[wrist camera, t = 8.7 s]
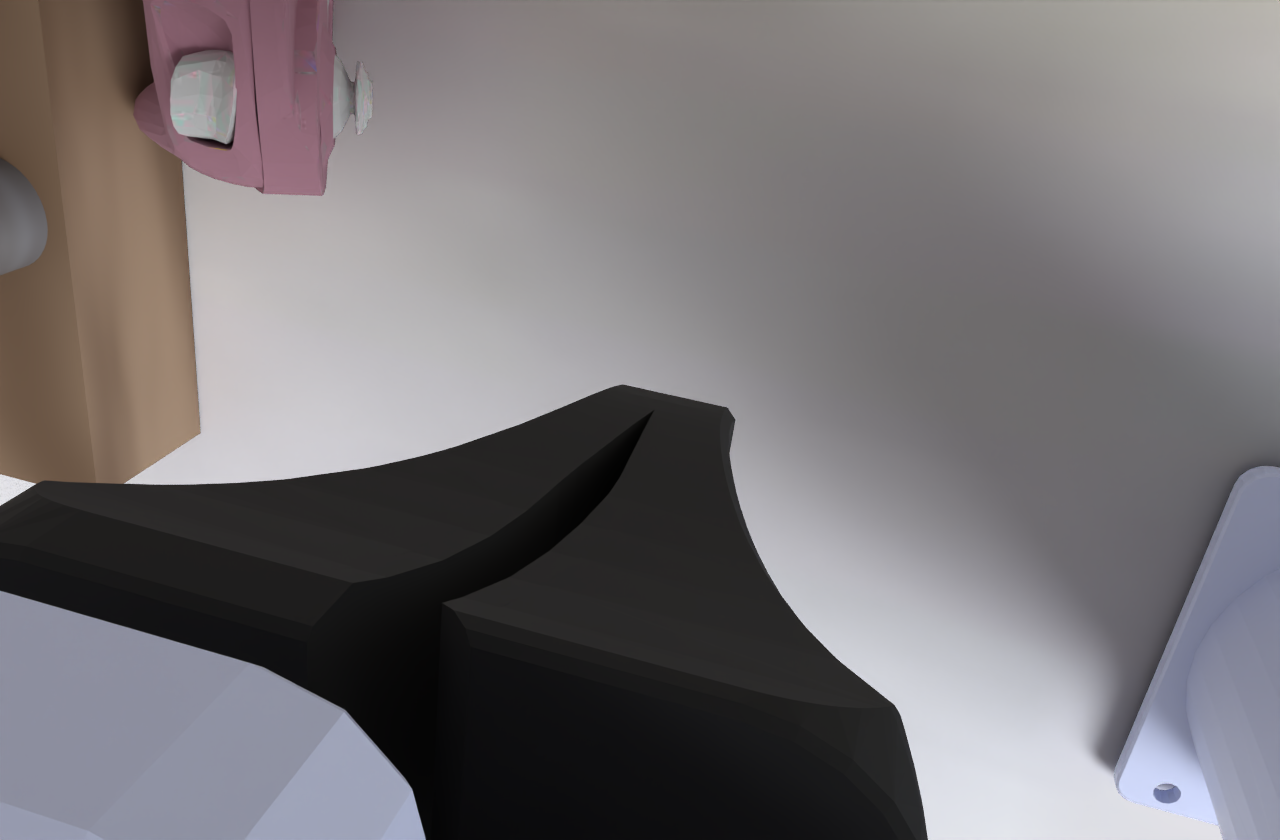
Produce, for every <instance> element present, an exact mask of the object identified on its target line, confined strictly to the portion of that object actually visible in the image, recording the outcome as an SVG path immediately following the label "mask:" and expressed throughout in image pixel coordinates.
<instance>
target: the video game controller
mask: <svg viewBox="0 0 1280 840" xmlns="http://www.w3.org/2000/svg"><path fill="white" fill-rule="evenodd" d="M143 5H144V13H145V22H146V30H147V38H148V46H149V55H150V63H151V69H152V74H153V78H154V82H153V83H152V84H150V85H149V86H147V87H146V88H145V89H144V90H143V91H142V92H141V93H140V94H139V95H138V97H137V98H136V99H135V105H134V112H133V116H134V118H135V120H136V122H137V124H138V126H139V129H140V130H141V131H142V132H143V133H145V134H146V135H147V136H148V137H149V138H150V139H152V140H153V141H154V142H156V143H157V144H158V145H160V146H161V147H162V148H164V149H165V150H167V151H169V152H170V153H172V154H174V155H175V156H177V157H178V158H180V159H181V160H182V161H183V162H184V163H186V164H187V165H188V166H189V167H191V168H193V169H195V170H196V171H198V172H200V173H202V174H205V175H207V176H209V177H212V178H214V179H218V180H221V181H225V182H228V183H232V184H236V185H241V186H246V187H255V188H256V189H257V190H258V191H260V192H261V193H263V194H289V195H317V196H322V195H323V194H324V192H325V188H326V179H327V164H328V158H329V156H330V154H331V152H332V149H333V147H334V145H335V137H336V136H337V135H338V134H339V133H340V132H341V131H342V130H343V128H344V126H345V124H346V122H347V120H348V118H349V116H350V114H353V113H354V115H355V124H356V134H357V135H361V134H362V133H363V131H364V128H366V127H367V123H368V120H369V119H370V118H372V104H373V84H372V81H371V80H369V78H368V72H367V71H366V70H365V68H364V65H363V63H362V62H359V61H357V67H356V78H355V82H351V81H350V79H349V77H348V75H347V73H346V71H345V68H344V66H343V64H342V62H341V61H340V59H339V58H338V57H337V56H336V48H335V47H334V45H333V42H332V36H333V0H143Z"/></svg>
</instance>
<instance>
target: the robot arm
mask: <svg viewBox="0 0 1280 840" xmlns="http://www.w3.org/2000/svg"><path fill="white" fill-rule="evenodd" d="M734 424H735V419H734V417H733V415H732V414H731V412H730V411H729V409H728V408H726V407H722V406H717V405H713V404H708V403H704V402H699V401H695V400H690V399H686V398H681V397H677V396H672V395H668V394H663V393H658V392H654V391H649V390H645V389H640V388H636V387H631V386H627V385H619V386H615V387H611V388H608V389H606V390H603V391H600V392H598V393H595V394H593V395H590V396H588V397H586V398H583V399H581V400H578V401H576V402H574V403H571V404H569V405H567V406H564V407H562V408H559V409H557V410H554V411H552V412H550V413H547V414H545V415H542V416H540V417H537V418H535V419H532V420H530V421H527V422H525V423H522V424H520V425H517V426H514V427H511V428H508V429H506V430H503V431H500V432H497V433H494V434H491V435H488V436H485V437H482V438H480V439H477V440H474V441H471V442H468V443H465V444H462V445H459V446H456V447H453V448H449V449H446V450H443V451H439V452H435V453H432V454H428V455H424V456H420V457H416V458H412V459H407V460H403V461H398V462H394V463H389V464H385V465H380V466H375V467H370V468H364V469H357V470H350V471H343V472H336V473H329V474H321V475H314V476H307V477H300V478H293V479H284V480H273V481H259V482H244V483H225V484H197V485H145V484H115V483H84V482H62V481H47V480H44V481H41V482H39V483H37V484H36V485H34V486H32V487H31V488H29V489H27V490H26V491H24V492H22V493H21V494H19V495H18V496H16V497H14V498H13V499H11V500H9V501H8V502H6V503H4V504H3V505H1V506H0V840H928V838H927V831H926V824H925V817H924V810H923V805H922V800H921V795H920V790H919V786H918V781H917V776H916V771H915V767H914V763H913V759H912V756H911V752H910V748H909V744H908V740H907V737H906V733H905V729H904V726H903V723H902V719H901V716H900V714H899V712H898V710H897V708H896V707H895V705H894V704H892V703H891V702H890V701H889V700H887V699H886V698H885V697H884V696H882V695H881V694H880V693H879V692H877V691H876V690H875V689H874V688H872V687H871V686H870V685H868V684H867V683H866V682H865V681H863V680H862V679H861V678H860V677H858V676H857V675H856V674H855V673H853V672H852V671H851V670H850V669H848V668H847V667H846V666H845V665H843V664H842V663H841V662H840V661H839V660H837V659H836V658H835V657H834V656H833V655H832V654H831V653H830V652H829V651H828V650H827V649H826V648H825V647H824V646H823V645H822V644H821V643H820V642H819V641H818V639H817V638H816V637H815V636H814V635H813V634H812V633H811V632H810V631H809V630H808V629H807V628H806V627H805V626H804V625H803V623H802V622H801V621H800V620H799V619H798V617H797V616H796V615H795V613H794V612H793V611H792V609H791V608H790V607H789V605H788V604H787V603H786V601H785V600H784V599H783V597H782V596H781V594H780V593H779V591H778V589H777V588H776V586H775V584H774V583H773V581H772V579H771V578H770V576H769V574H768V572H767V570H766V568H765V566H764V564H763V562H762V560H761V559H760V557H759V555H758V553H757V550H756V548H755V546H754V543H753V541H752V539H751V536H750V534H749V531H748V529H747V526H746V523H745V520H744V517H743V514H742V511H741V508H740V505H739V501H738V497H737V494H736V489H735V484H734V479H733V474H732V469H731V463H730V455H729V452H730V447H731V441H732V435H733V430H734ZM1114 780H1115V785H1116V788H1117V790H1118V793H1119V794H1120V795H1121V796H1122V797H1124V798H1125V799H1126V800H1129V801H1131V802H1133V803H1137V804H1140V805H1144V806H1148V807H1151V808H1155V809H1159V810H1163V811H1166V812H1170V813H1174V814H1177V815H1181V816H1185V817H1188V818H1192V819H1196V820H1199V821H1203V822H1207V823H1211V824H1214V825H1218V826H1219V828H1220V831H1221V834H1222V838H1223V840H1280V468H1279V467H1274V466H1259V467H1256V468H1252V469H1249V470H1248V471H1246V472H1245V473H1243V474H1242V475H1240V477H1239V478H1238V480H1237V481H1236V482H1235V484H1234V486H1233V489H1232V491H1231V493H1230V496H1229V498H1228V501H1227V503H1226V505H1225V508H1224V510H1223V512H1222V515H1221V517H1220V520H1219V522H1218V524H1217V527H1216V529H1215V531H1214V534H1213V536H1212V539H1211V541H1210V543H1209V546H1208V548H1207V550H1206V553H1205V555H1204V558H1203V560H1202V562H1201V565H1200V567H1199V570H1198V572H1197V574H1196V577H1195V579H1194V581H1193V584H1192V586H1191V589H1190V591H1189V593H1188V596H1187V598H1186V600H1185V603H1184V605H1183V608H1182V610H1181V612H1180V615H1179V617H1178V619H1177V622H1176V624H1175V627H1174V629H1173V631H1172V634H1171V636H1170V639H1169V641H1168V643H1167V646H1166V648H1165V650H1164V653H1163V655H1162V658H1161V660H1160V662H1159V665H1158V667H1157V669H1156V672H1155V674H1154V677H1153V679H1152V681H1151V684H1150V686H1149V688H1148V691H1147V693H1146V696H1145V698H1144V700H1143V703H1142V705H1141V707H1140V710H1139V712H1138V715H1137V717H1136V719H1135V722H1134V724H1133V727H1132V729H1131V731H1130V734H1129V736H1128V738H1127V741H1126V743H1125V746H1124V748H1123V750H1122V753H1121V755H1120V757H1119V760H1118V762H1117V765H1116V767H1115V771H1114ZM1164 783H1165V784H1172V785H1174V786H1175V787H1174V788H1172V789H1169V790H1159V789H1157V788H1156V787H1157V786H1158V785H1161V784H1164Z"/></svg>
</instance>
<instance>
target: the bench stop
mask: <svg viewBox="0 0 1280 840" xmlns="http://www.w3.org/2000/svg"><path fill="white" fill-rule="evenodd" d="M153 82H154V78H153V74H152V69H151V63H150V55H149V46H148V38H147V30H146V22H145V13H144V5H143V0H0V474H2V475H6V476H10V477H13V478H17V479H21V480H25V481H28V482H32V483H36V484H37V483H39V482H41V481H44V480H47V481H62V482H84V483H115V484H124V483H125V482H127V481H128V480H130V479H131V478H133V477H134V476H136V475H137V474H139V473H140V472H142V471H143V470H145V469H146V468H148V467H150V466H151V465H153V464H154V463H156V462H157V461H159V460H160V459H162V458H163V457H165V456H166V455H168V454H169V453H171V452H172V451H174V450H175V449H177V448H178V447H180V446H181V445H183V444H185V443H186V442H188V441H189V440H191V439H192V438H194V437H195V436H197V435H198V434H200V420H199V406H198V391H197V377H196V362H195V348H194V334H193V319H192V305H191V290H190V276H189V261H188V247H187V233H186V218H185V204H184V189H183V175H182V161H181V159H180V158H178V157H177V156H175V155H174V154H172V153H170V152H169V151H167V150H165V149H164V148H162V147H161V146H160V145H158V144H157V143H156V142H154V141H153V140H152V139H150V138H149V137H148V136H147V135H146V134H145V133H143V132H142V131H141V130H140V129H139V126H138V124H137V122H136V120H135V118H134V116H133V112H134V105H135V99H136V98H137V97H138V95H139V94H140V93H141V92H142V91H143V90H144V89H145V88H146V87H147V86H149V85H150V84H152V83H153Z"/></svg>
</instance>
